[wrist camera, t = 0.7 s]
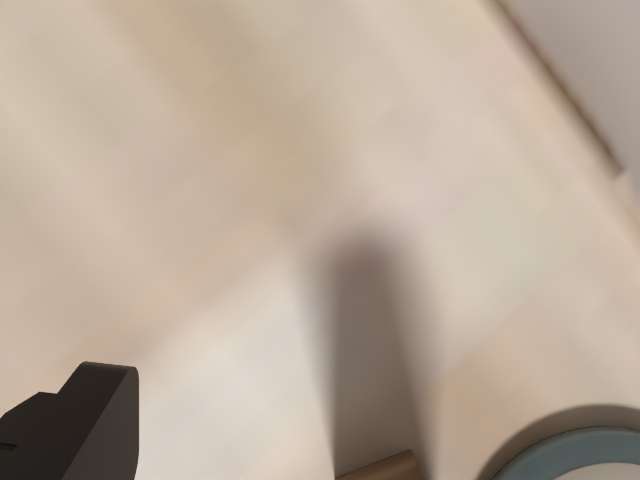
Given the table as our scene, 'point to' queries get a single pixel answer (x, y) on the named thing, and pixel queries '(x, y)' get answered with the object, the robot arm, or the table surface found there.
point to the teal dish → (579, 456)
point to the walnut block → (388, 469)
